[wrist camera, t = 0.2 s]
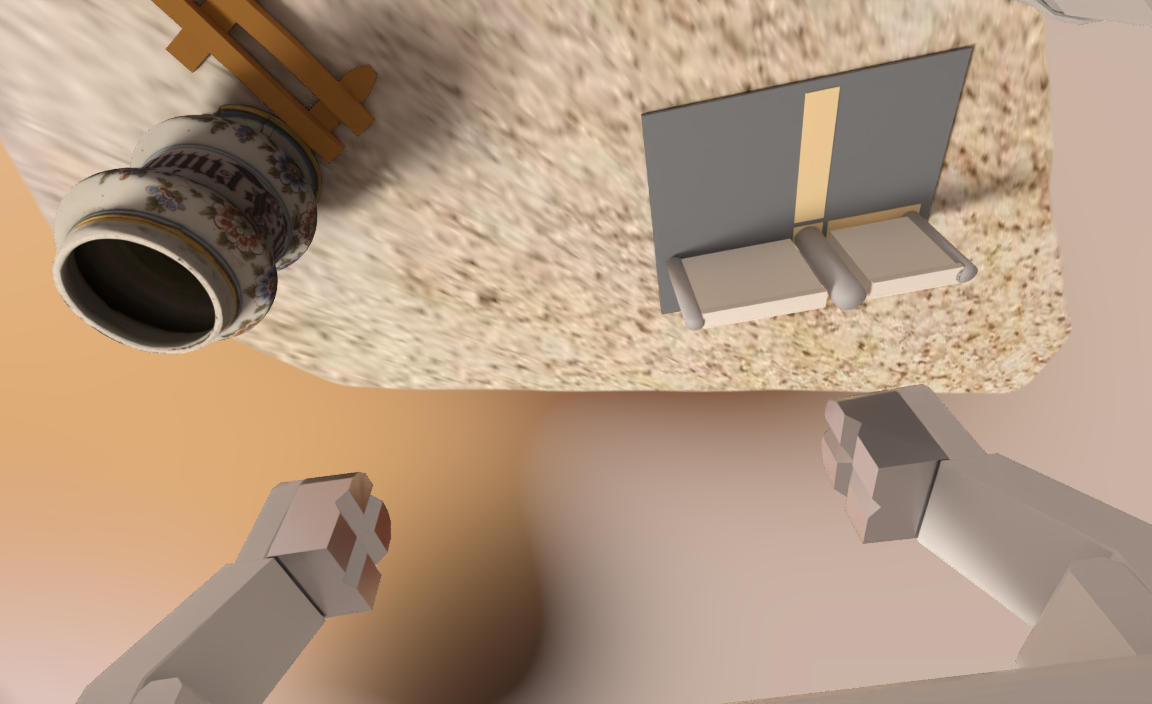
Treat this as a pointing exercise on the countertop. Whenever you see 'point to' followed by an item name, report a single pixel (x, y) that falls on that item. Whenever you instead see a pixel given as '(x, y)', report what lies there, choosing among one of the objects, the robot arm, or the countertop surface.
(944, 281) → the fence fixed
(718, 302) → the beige rectangular panel
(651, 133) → the mat
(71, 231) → the apothecary jar
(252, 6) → the decorative fence
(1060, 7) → the water bottle
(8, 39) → the countertop surface
